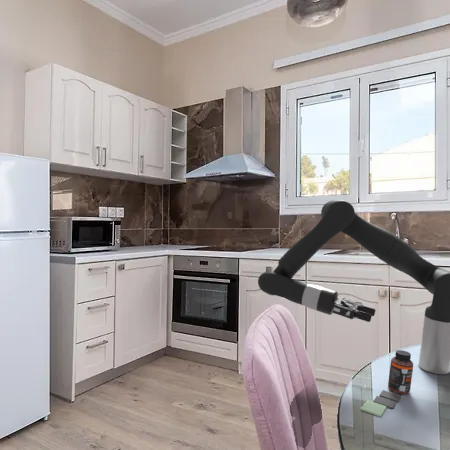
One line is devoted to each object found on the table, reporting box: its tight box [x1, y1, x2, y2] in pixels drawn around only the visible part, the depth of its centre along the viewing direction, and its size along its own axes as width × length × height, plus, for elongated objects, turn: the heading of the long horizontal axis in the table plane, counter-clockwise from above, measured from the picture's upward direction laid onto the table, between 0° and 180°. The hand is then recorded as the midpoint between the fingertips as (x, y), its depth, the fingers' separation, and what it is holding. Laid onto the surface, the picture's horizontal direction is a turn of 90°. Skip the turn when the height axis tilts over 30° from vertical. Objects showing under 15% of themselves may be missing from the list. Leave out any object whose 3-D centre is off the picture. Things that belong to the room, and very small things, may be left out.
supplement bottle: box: [387, 349, 414, 395], centre depth 119 cm, size 6×6×11 cm
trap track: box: [360, 389, 402, 418], centre depth 110 cm, size 16×7×1 cm, turn 146°
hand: (373, 315), depth 121 cm, fingers open, 8 cm apart
